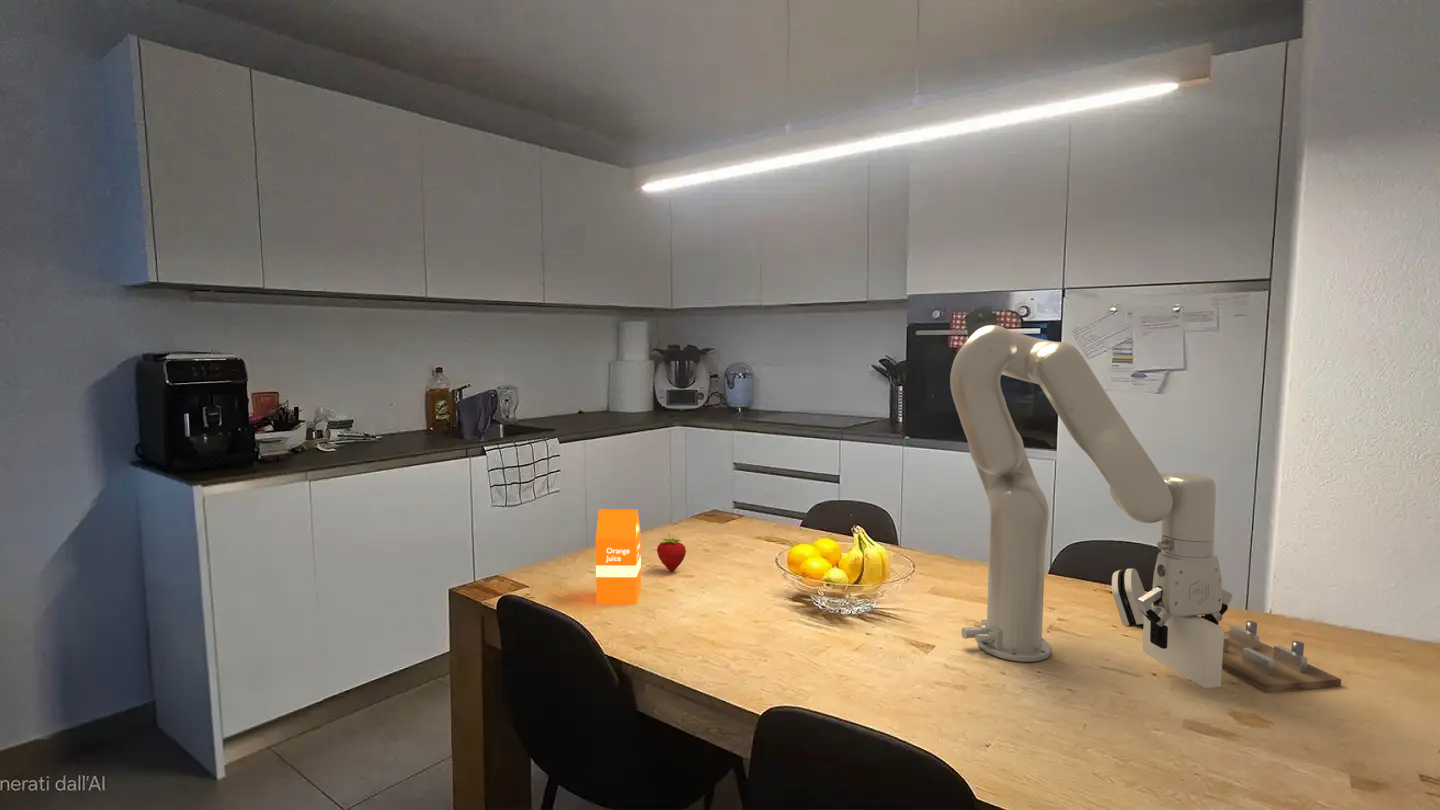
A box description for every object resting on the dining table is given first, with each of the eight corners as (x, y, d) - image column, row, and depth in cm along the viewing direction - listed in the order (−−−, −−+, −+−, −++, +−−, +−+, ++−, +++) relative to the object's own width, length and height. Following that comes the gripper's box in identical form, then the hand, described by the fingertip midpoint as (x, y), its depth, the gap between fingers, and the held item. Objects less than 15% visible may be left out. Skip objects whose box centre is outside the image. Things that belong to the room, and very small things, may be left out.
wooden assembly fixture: (1266, 692, 116) (1268, 661, 115) (1171, 641, 135) (1172, 614, 135) (1340, 686, 118) (1343, 655, 117) (1236, 636, 138) (1237, 610, 137)
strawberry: (679, 577, 173) (679, 537, 172) (652, 573, 176) (651, 533, 175) (690, 570, 178) (690, 531, 177) (664, 566, 181) (663, 527, 181)
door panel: (1204, 688, 117) (1208, 629, 117) (1142, 651, 131) (1144, 598, 130) (1220, 686, 118) (1224, 628, 117) (1156, 650, 132) (1159, 598, 131)
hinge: (1151, 630, 141) (1134, 580, 142) (1125, 633, 143) (1108, 584, 144) (1155, 604, 155) (1139, 559, 156) (1131, 607, 157) (1115, 563, 158)
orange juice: (636, 604, 155) (635, 513, 154) (596, 604, 156) (594, 513, 154) (641, 591, 163) (640, 505, 162) (602, 591, 163) (601, 505, 162)
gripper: (1158, 556, 118) (1155, 656, 119) (1250, 549, 120) (1246, 648, 122) (1125, 543, 125) (1123, 638, 126) (1213, 537, 128) (1210, 631, 129)
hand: (1183, 643), depth 124 cm, fingers open, 9 cm apart
